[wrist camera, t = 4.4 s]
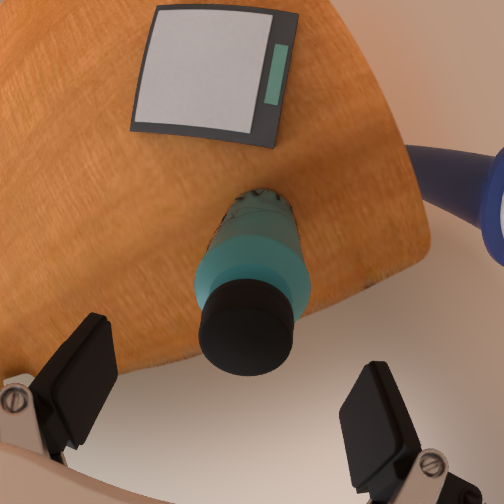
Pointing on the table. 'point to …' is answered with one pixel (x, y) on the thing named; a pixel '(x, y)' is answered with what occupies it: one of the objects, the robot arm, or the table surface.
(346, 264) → the table surface
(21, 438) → the robot arm
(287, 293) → the beverage bottle
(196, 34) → the scale
